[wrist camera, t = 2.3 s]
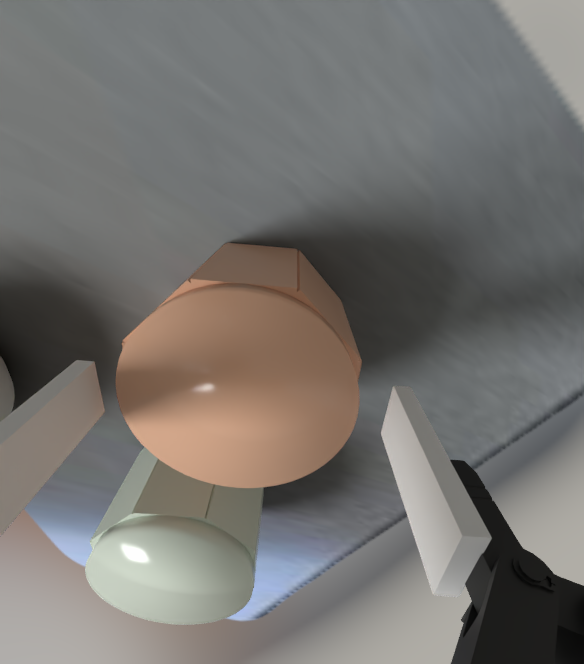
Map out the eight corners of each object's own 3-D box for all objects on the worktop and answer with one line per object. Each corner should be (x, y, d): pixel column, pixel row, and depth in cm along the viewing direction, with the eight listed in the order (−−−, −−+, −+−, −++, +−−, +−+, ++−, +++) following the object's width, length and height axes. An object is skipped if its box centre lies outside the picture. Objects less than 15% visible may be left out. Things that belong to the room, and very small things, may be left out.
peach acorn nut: (174, 238, 18) (93, 280, 11) (349, 253, 18) (382, 304, 11) (185, 383, 23) (133, 480, 15) (326, 393, 23) (339, 494, 16)
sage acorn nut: (135, 422, 24) (68, 527, 17) (267, 432, 25) (255, 539, 17) (150, 508, 29) (101, 619, 22) (262, 515, 29) (250, 628, 22)
